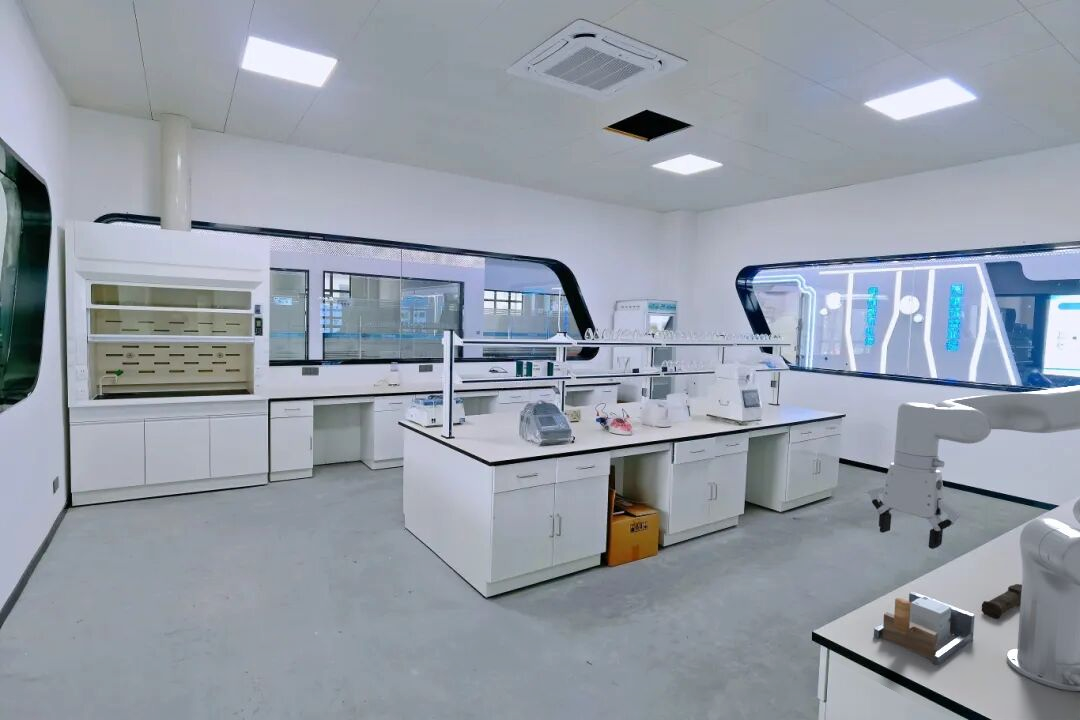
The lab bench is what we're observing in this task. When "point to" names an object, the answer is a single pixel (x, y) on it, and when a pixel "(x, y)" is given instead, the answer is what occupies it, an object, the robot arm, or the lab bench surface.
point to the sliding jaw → (908, 631)
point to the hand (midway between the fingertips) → (908, 539)
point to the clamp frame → (958, 626)
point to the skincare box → (932, 616)
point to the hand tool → (1003, 602)
